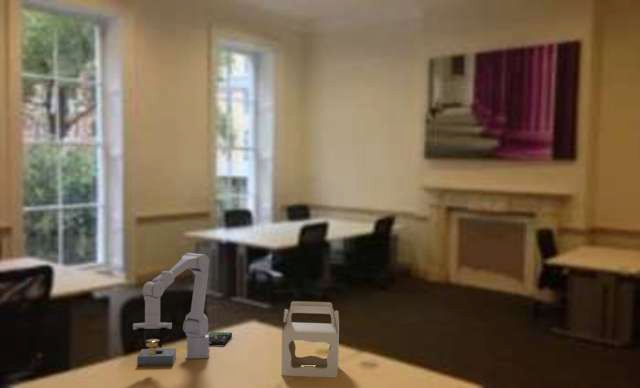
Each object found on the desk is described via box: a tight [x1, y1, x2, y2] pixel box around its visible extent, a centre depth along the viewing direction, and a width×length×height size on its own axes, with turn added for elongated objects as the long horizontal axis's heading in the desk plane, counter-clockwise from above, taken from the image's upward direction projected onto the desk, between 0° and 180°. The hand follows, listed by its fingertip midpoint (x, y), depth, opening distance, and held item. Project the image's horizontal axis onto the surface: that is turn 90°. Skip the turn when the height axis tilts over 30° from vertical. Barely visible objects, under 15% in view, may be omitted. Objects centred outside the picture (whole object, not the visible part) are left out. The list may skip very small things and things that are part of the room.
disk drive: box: [208, 331, 233, 347], centre depth 276 cm, size 10×3×15 cm
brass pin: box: [145, 338, 160, 356], centre depth 232 cm, size 6×6×5 cm
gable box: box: [281, 300, 340, 379], centre depth 236 cm, size 22×13×28 cm, turn 86°
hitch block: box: [136, 348, 177, 367], centre depth 244 cm, size 14×10×4 cm
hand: (152, 347), depth 232 cm, fingers closed on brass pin, 6 cm apart
